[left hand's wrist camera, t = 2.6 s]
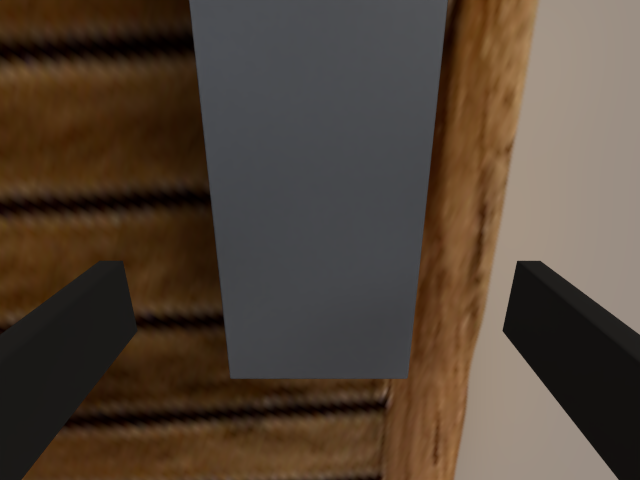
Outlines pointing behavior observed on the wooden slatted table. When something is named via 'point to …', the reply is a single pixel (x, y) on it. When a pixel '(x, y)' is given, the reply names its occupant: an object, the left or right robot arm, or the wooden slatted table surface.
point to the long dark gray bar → (318, 177)
